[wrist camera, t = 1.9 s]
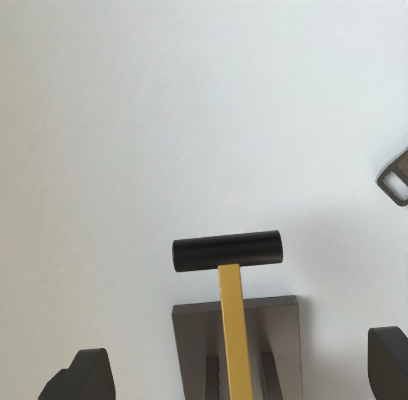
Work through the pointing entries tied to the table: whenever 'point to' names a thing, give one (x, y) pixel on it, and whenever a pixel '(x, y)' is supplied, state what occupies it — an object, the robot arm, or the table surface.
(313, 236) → the table surface
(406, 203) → the strap clip
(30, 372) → the table surface
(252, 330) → the lever stand
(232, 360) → the lever handle
